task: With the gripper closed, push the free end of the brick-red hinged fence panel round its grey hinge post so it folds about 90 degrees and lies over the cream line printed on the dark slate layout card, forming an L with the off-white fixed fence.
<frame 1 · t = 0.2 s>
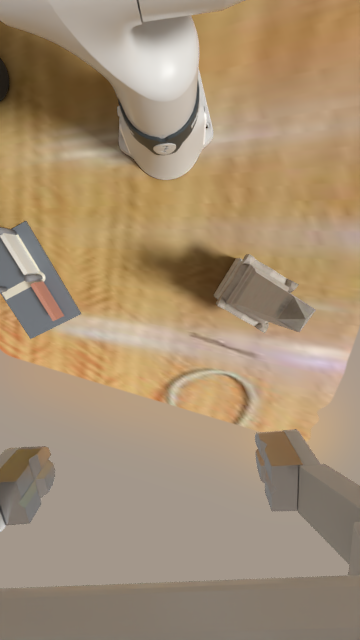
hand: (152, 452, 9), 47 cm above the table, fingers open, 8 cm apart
fence panel: (48, 301, 54), point 3 cm above the table, hinge at 0.0°
miniature monument: (241, 287, 55), on the table
layout card: (40, 277, 55), on the table
fixed fence: (40, 277, 55), resting on layout card
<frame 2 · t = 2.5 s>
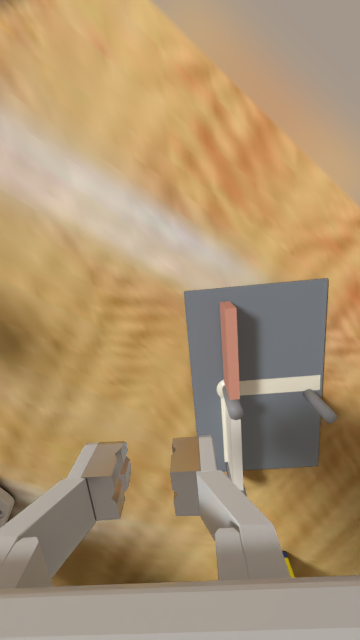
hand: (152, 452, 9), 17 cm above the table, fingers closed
fence panel: (229, 349, 24), point 3 cm above the table, hinge at 0.0°
layout card: (227, 387, 27), on the table
fixed fence: (227, 387, 27), resting on layout card
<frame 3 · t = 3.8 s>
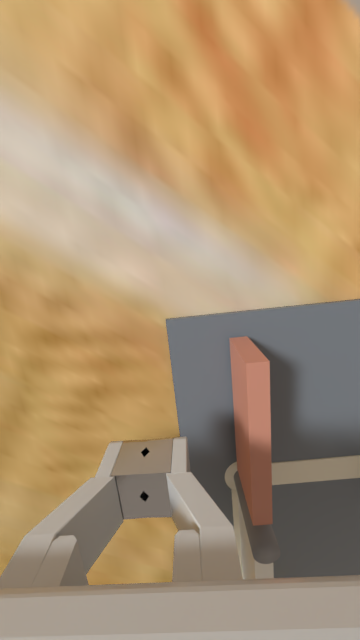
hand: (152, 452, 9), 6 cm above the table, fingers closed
fence panel: (249, 426, 13), point 3 cm above the table, hinge at 0.0°
layout card: (242, 472, 17), on the table
fixed fence: (242, 472, 17), resting on layout card
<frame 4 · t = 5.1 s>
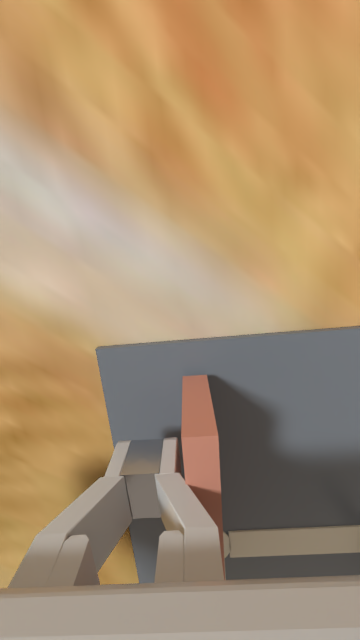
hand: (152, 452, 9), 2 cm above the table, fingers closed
fence panel: (203, 502, 9), point 3 cm above the table, hinge at 0.6°, touching gripper
layout card: (206, 538, 13), on the table
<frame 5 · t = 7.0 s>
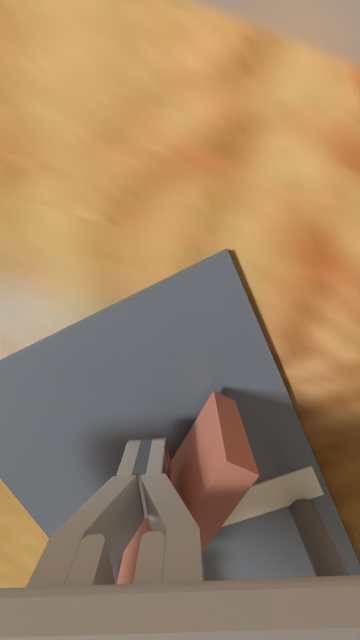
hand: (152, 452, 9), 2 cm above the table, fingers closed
fence panel: (173, 512, 9), point 3 cm above the table, hinge at 52.3°, touching gripper
layout card: (131, 534, 13), on the table
fixed fence: (131, 534, 13), resting on layout card
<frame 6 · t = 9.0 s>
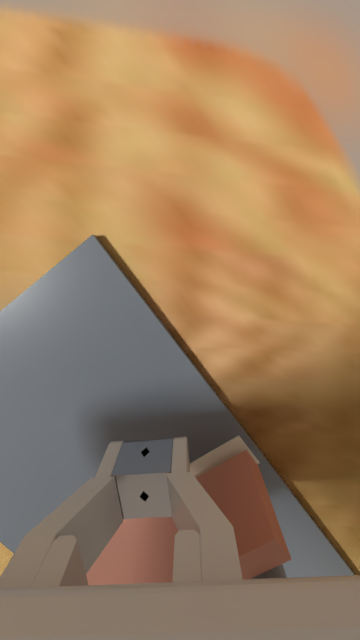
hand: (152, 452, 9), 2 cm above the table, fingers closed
fence panel: (168, 544, 10), point 3 cm above the table, hinge at 90.1°
layout card: (88, 533, 13), on the table
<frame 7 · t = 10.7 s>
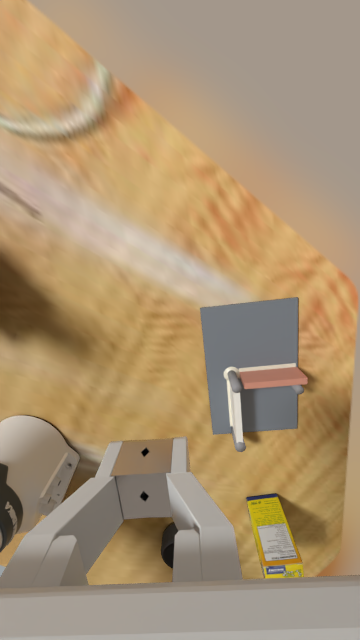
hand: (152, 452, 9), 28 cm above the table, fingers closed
fence panel: (271, 377, 36), point 3 cm above the table, hinge at 90.1°
layout card: (231, 373, 39), on the table
fixed fence: (231, 373, 39), resting on layout card
supplement box: (262, 505, 47), on the table
smart speaker: (184, 533, 50), on the table
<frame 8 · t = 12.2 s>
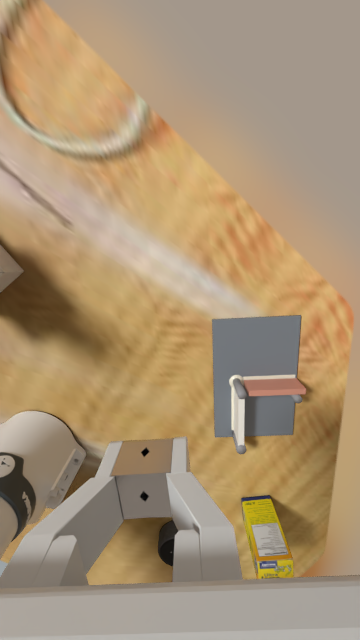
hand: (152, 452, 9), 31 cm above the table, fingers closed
fence panel: (273, 386, 40), point 3 cm above the table, hinge at 90.1°
layout card: (236, 380, 43), on the table
fixed fence: (236, 380, 43), resting on layout card
supplement box: (256, 506, 50), on the table
smart speaker: (179, 531, 52), on the table
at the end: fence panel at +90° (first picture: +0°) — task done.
